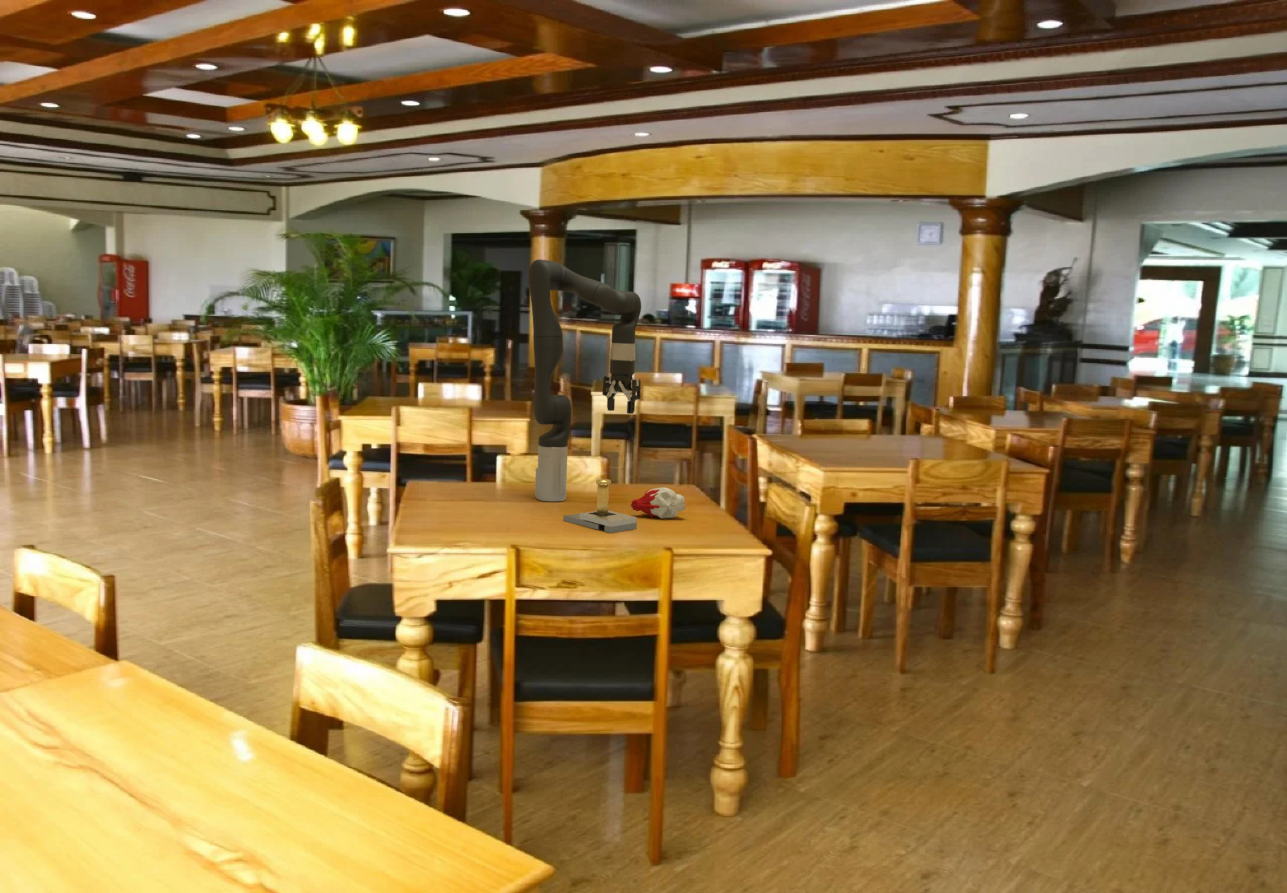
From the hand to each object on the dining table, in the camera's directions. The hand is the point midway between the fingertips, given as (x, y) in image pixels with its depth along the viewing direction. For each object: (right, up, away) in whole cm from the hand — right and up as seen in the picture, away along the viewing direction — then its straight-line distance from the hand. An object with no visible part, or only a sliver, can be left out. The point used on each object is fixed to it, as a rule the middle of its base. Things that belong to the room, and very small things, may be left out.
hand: (620, 412), depth 325 cm
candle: (+11, -32, -4) cm, 34 cm away
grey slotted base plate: (-5, -33, -19) cm, 38 cm away
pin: (-5, -33, -19) cm, 38 cm away
